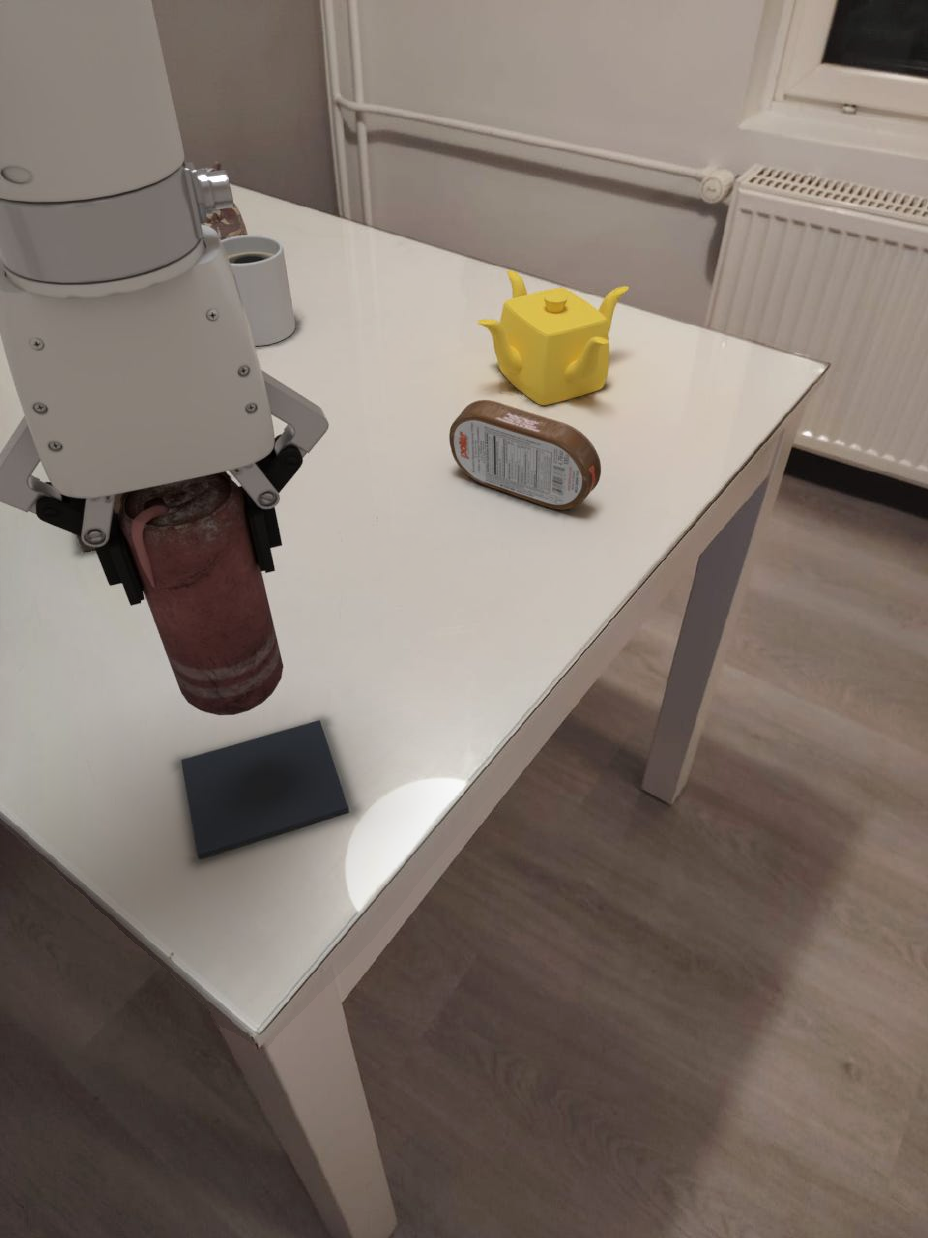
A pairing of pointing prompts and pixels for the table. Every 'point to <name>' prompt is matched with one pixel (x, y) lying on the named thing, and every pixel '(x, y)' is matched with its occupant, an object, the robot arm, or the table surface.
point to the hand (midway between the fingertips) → (199, 569)
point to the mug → (262, 286)
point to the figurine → (225, 217)
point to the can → (204, 590)
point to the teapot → (553, 342)
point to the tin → (524, 454)
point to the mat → (261, 788)
